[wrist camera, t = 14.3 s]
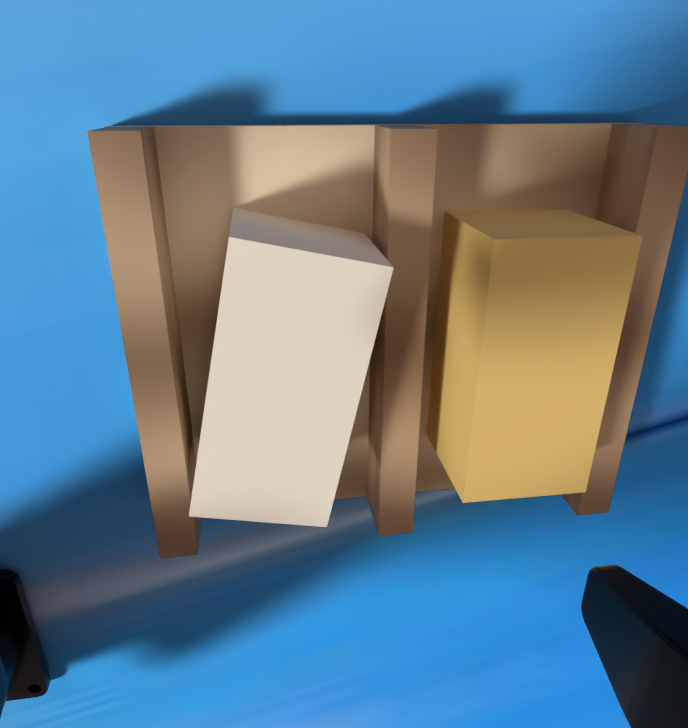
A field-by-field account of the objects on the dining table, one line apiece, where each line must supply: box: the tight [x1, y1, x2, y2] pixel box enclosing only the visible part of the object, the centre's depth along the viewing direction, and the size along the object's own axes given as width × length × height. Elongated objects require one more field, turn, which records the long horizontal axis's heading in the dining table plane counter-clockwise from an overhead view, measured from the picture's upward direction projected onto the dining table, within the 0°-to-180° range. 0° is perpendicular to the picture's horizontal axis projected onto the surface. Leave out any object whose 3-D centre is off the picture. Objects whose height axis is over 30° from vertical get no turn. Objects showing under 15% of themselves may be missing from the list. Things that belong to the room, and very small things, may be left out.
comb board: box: [87, 123, 688, 558], centre depth 19 cm, size 13×16×3 cm
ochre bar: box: [427, 209, 643, 503], centre depth 18 cm, size 8×4×4 cm, turn 179°
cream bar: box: [189, 208, 394, 527], centre depth 17 cm, size 8×4×4 cm, turn 167°
